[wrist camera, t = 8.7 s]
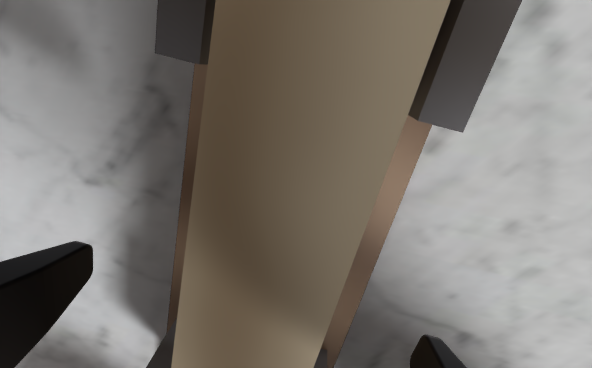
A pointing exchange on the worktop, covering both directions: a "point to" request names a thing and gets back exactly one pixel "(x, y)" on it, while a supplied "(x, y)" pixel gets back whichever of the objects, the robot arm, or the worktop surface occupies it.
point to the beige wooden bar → (291, 168)
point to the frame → (423, 114)
